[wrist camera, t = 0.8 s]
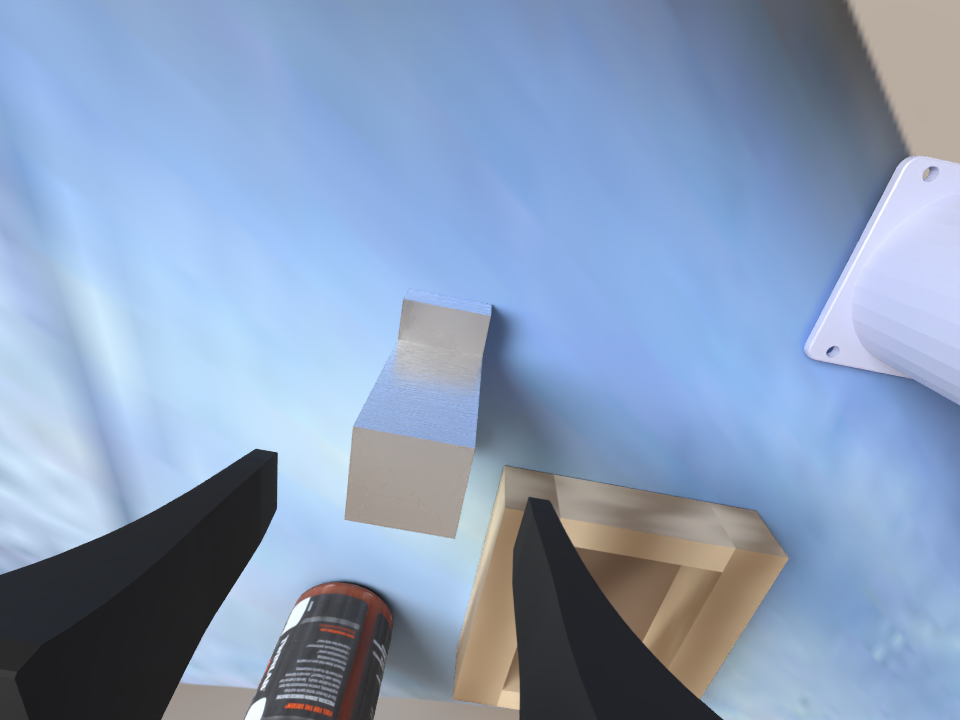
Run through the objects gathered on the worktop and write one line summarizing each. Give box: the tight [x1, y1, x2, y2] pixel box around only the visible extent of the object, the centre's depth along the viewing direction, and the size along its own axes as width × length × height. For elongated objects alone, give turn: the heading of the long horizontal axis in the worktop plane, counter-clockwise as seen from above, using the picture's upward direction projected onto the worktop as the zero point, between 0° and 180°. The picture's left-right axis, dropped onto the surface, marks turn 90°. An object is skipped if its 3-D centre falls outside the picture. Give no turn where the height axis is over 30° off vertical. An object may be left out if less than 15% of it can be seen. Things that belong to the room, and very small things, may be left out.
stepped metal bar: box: [345, 289, 492, 539], centre depth 18 cm, size 4×7×8 cm, turn 169°
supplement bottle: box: [244, 582, 393, 720], centre depth 23 cm, size 6×6×11 cm
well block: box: [453, 466, 789, 710], centre depth 25 cm, size 13×14×3 cm
